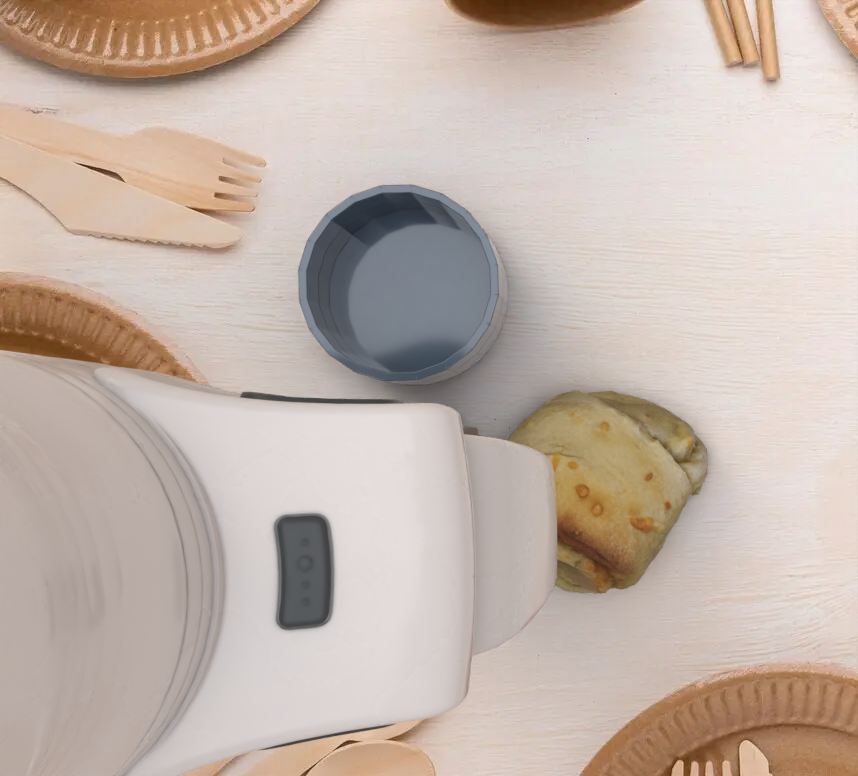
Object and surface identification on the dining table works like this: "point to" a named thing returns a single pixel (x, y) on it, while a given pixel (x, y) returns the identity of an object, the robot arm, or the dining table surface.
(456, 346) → the bowl
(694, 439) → the pastry
